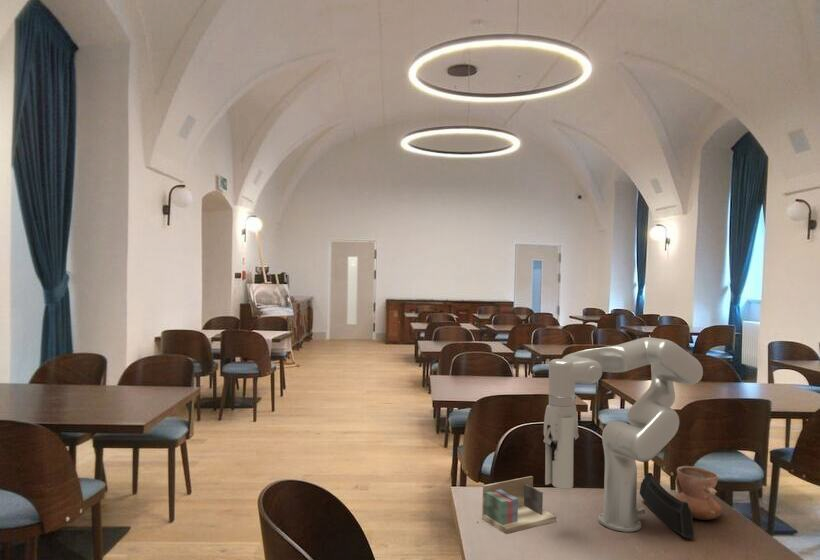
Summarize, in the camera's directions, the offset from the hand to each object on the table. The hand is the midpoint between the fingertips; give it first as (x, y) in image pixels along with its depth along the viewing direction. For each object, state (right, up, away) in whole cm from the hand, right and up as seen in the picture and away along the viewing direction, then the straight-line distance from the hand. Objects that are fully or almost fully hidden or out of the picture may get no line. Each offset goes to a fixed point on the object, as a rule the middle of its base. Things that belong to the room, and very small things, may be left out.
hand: (561, 461), depth 167 cm
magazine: (+36, -23, +12) cm, 45 cm away
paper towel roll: (0, -7, 0) cm, 7 cm away
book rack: (-11, -21, +9) cm, 26 cm away
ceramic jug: (+49, -23, +17) cm, 57 cm away
